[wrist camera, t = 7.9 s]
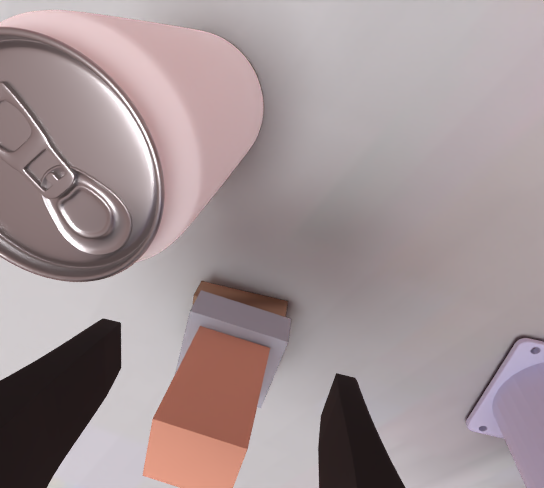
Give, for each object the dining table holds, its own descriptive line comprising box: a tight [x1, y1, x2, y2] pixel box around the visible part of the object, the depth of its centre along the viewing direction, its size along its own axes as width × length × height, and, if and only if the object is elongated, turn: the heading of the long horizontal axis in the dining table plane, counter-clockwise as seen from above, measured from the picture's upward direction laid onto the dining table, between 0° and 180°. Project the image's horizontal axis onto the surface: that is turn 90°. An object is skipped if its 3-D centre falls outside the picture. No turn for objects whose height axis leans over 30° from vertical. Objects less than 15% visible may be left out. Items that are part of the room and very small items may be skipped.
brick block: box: [143, 326, 270, 488], centre depth 19 cm, size 4×4×6 cm
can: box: [0, 10, 263, 282], centre depth 14 cm, size 6×6×12 cm
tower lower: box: [193, 281, 288, 317], centre depth 24 cm, size 6×6×2 cm
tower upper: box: [175, 290, 291, 408], centre depth 23 cm, size 6×6×2 cm
